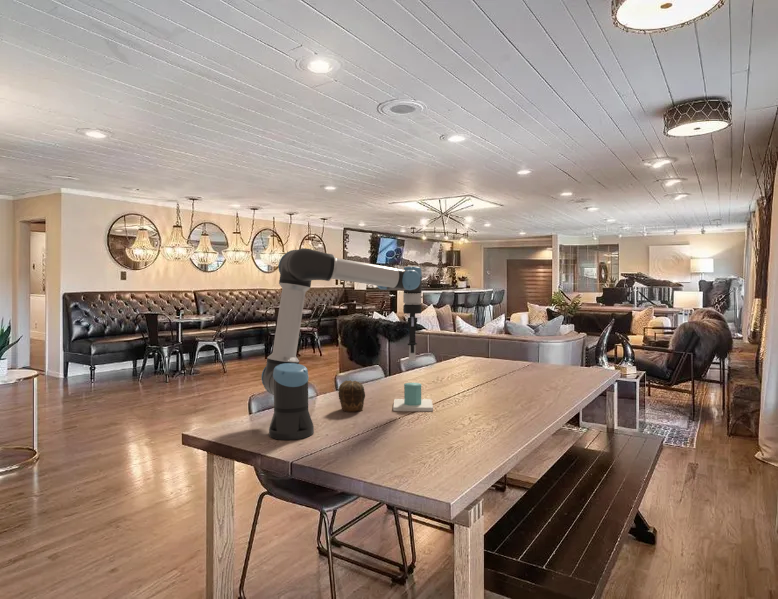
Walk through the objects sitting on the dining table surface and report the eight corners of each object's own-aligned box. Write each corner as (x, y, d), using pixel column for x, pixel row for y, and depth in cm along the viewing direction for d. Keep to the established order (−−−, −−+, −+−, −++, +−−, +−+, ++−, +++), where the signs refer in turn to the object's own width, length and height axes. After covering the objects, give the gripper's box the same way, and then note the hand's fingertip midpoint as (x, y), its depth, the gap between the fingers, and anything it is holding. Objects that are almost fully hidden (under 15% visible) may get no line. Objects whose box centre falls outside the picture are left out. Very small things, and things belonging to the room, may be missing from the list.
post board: (433, 411, 203) (432, 396, 203) (393, 411, 204) (393, 396, 203) (431, 402, 218) (431, 388, 218) (394, 402, 219) (394, 388, 218)
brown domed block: (333, 411, 204) (332, 382, 203) (347, 405, 213) (347, 377, 213) (356, 414, 198) (355, 384, 198) (370, 408, 208) (369, 379, 208)
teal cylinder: (421, 405, 206) (421, 386, 206) (404, 405, 207) (403, 386, 206) (421, 401, 214) (421, 382, 213) (404, 401, 214) (404, 382, 214)
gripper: (421, 304, 203) (421, 362, 203) (421, 303, 216) (420, 358, 216) (403, 304, 203) (403, 362, 204) (403, 303, 216) (403, 358, 217)
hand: (412, 360), depth 210 cm, fingers closed
